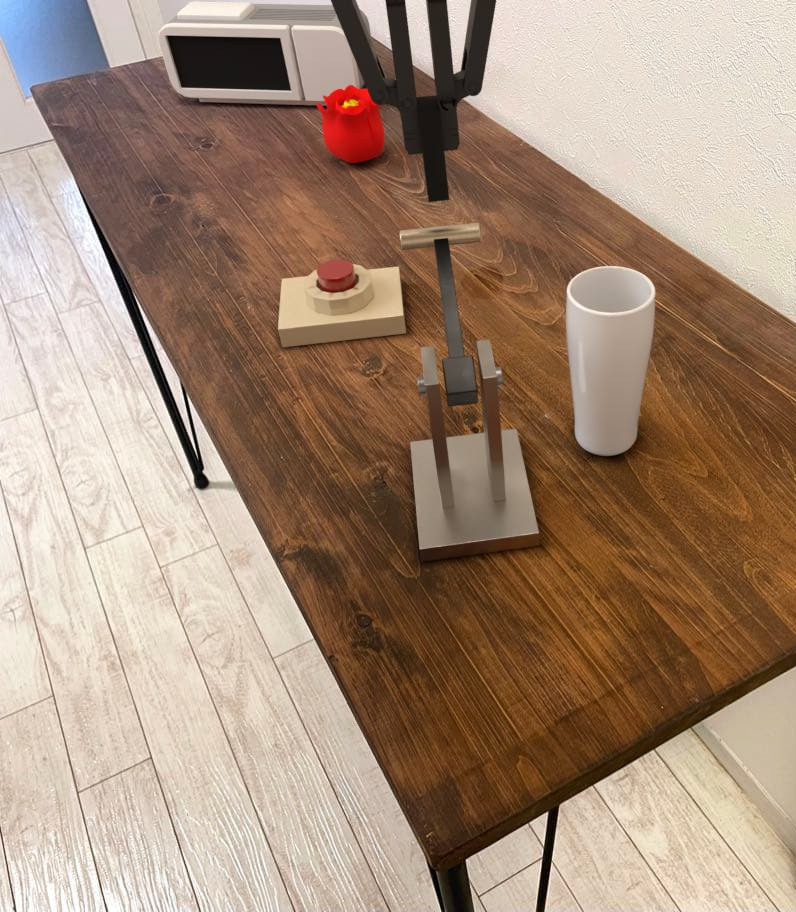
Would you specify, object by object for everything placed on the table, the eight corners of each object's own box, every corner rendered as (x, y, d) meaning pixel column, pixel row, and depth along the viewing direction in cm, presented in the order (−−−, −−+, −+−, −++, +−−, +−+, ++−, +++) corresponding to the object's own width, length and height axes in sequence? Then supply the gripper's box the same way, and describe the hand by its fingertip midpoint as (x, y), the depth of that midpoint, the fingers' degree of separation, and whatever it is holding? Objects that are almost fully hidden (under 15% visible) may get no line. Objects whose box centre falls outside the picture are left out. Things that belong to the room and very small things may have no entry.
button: (319, 296, 89) (316, 280, 88) (320, 276, 92) (316, 261, 91) (357, 292, 90) (354, 276, 89) (356, 272, 92) (353, 257, 91)
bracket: (412, 454, 78) (390, 319, 69) (517, 441, 79) (509, 306, 69) (421, 562, 69) (398, 425, 60) (539, 545, 70) (534, 408, 61)
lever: (400, 240, 71) (398, 223, 68) (478, 232, 71) (478, 215, 69) (421, 410, 66) (419, 398, 64) (504, 400, 67) (504, 387, 65)
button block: (282, 347, 89) (273, 313, 87) (286, 296, 96) (277, 263, 93) (406, 333, 91) (401, 299, 88) (401, 284, 97) (396, 250, 94)
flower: (395, 165, 117) (386, 103, 111) (335, 177, 115) (323, 114, 110) (379, 141, 122) (370, 80, 117) (322, 151, 120) (310, 90, 115)
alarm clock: (176, 105, 132) (150, 18, 124) (202, 80, 139) (178, -4, 131) (361, 111, 129) (347, 22, 121) (378, 85, 136) (366, -1, 128)
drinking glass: (550, 431, 80) (547, 282, 69) (613, 402, 82) (620, 255, 72) (596, 476, 76) (601, 326, 65) (661, 444, 78) (675, 294, 68)
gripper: (500, -219, 54) (518, 160, 71) (276, -205, 53) (347, 177, 69) (519, -197, 49) (533, 207, 65) (269, -182, 48) (348, 227, 64)
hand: (437, 191), depth 67 cm, fingers closed
